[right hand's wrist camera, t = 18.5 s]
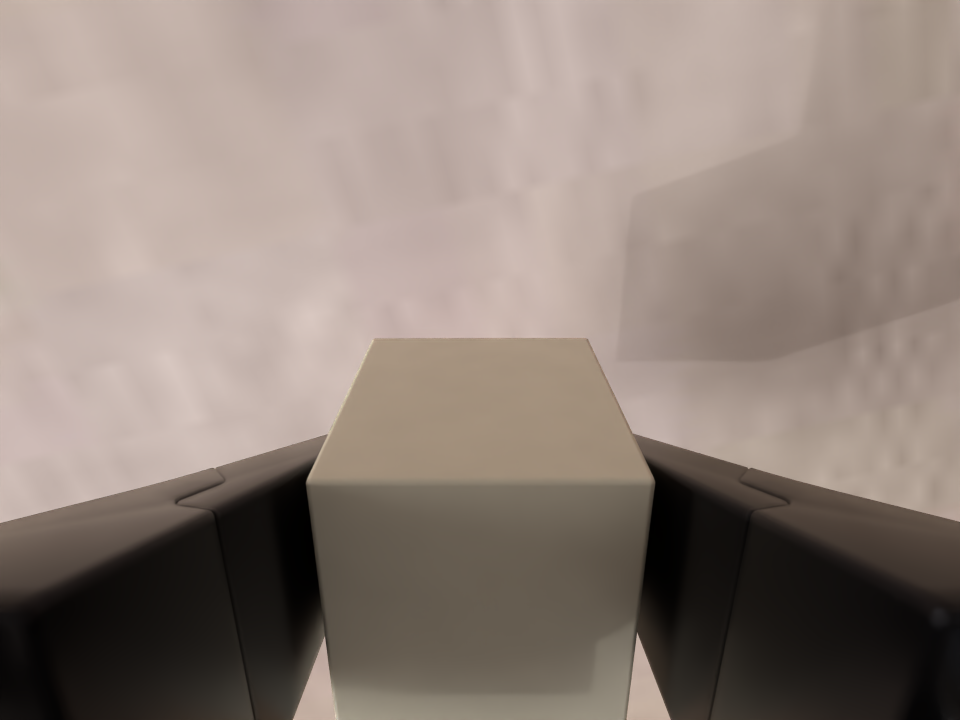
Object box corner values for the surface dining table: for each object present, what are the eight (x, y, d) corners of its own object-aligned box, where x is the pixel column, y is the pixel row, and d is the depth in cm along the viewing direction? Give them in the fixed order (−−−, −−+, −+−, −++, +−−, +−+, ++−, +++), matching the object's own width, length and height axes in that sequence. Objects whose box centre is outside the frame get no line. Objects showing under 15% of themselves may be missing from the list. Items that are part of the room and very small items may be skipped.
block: (385, 525, 13) (336, 740, 9) (371, 336, 11) (303, 480, 7) (575, 524, 13) (626, 740, 9) (588, 336, 11) (658, 480, 7)
